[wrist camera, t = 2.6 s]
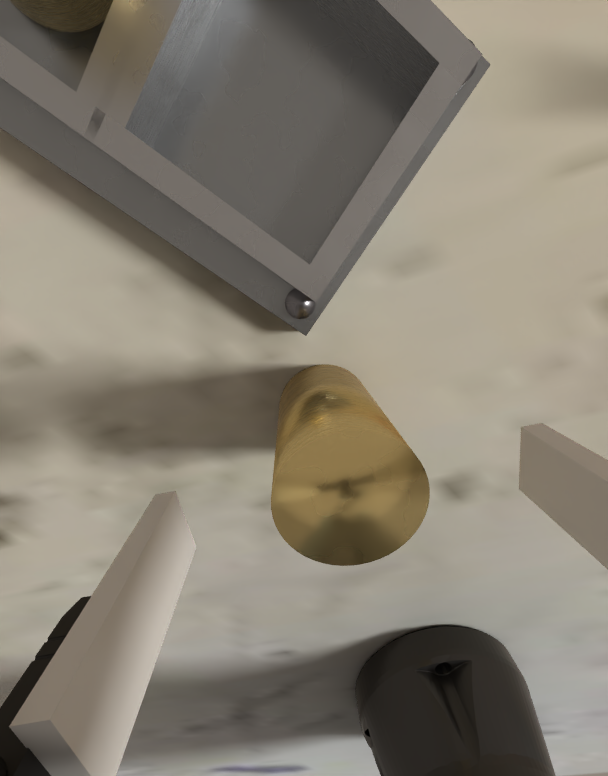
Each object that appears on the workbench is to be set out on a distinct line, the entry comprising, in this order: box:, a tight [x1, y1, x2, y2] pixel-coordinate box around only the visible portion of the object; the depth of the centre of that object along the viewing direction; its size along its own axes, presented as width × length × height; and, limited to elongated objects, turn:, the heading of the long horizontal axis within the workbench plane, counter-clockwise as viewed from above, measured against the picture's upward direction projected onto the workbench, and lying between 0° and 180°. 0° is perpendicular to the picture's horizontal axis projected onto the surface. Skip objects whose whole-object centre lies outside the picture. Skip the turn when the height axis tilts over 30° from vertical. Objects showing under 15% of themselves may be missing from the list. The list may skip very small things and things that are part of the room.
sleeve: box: [271, 365, 429, 566], centre depth 17 cm, size 6×6×10 cm
